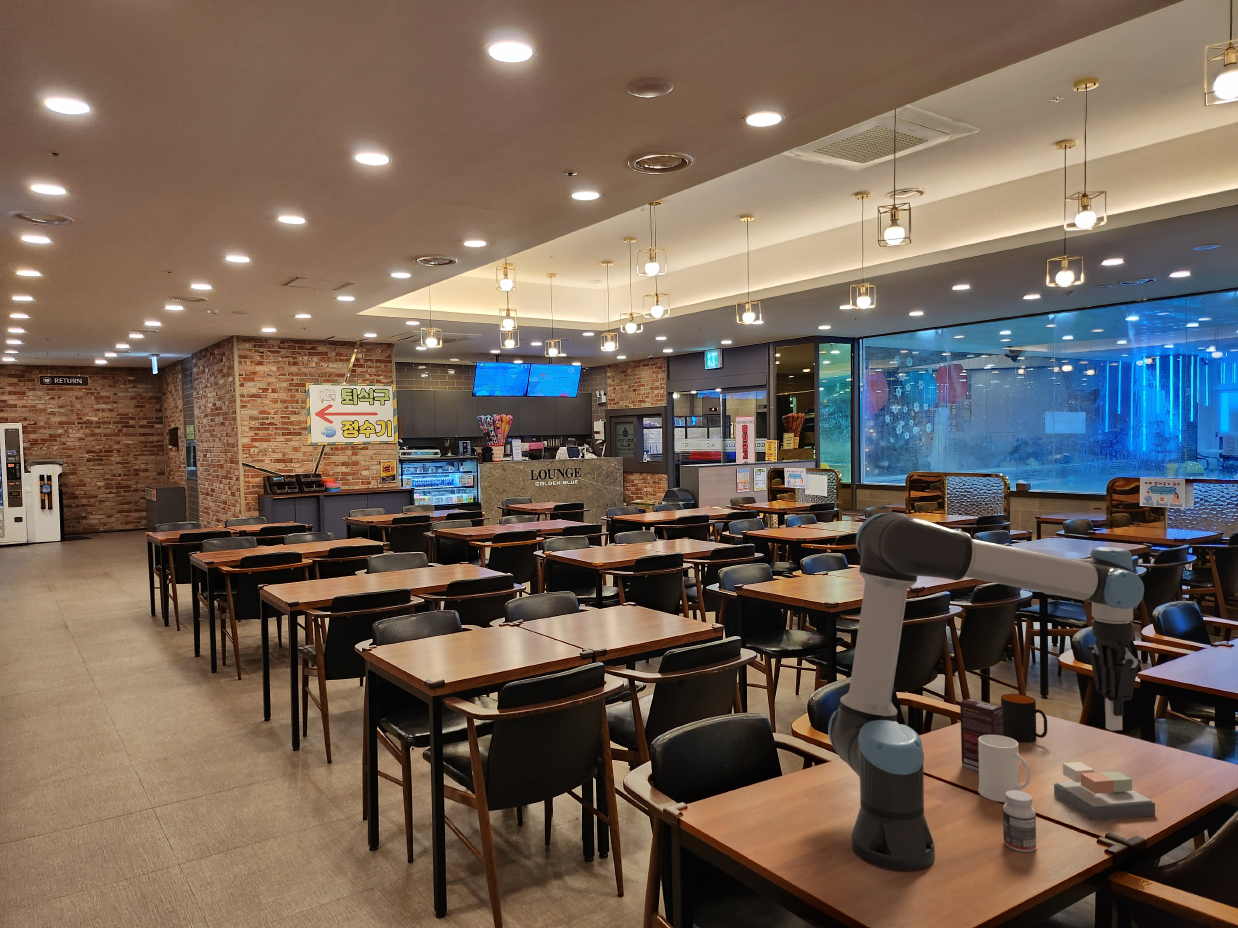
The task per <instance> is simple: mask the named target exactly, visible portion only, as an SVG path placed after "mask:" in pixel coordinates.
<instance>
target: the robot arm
mask: <svg viewBox="0 0 1238 928" xmlns="http://www.w3.org/2000/svg"><path fill="white" fill-rule="evenodd" d="M855 545H856V549H857V552H858V554H859V556H860V563H859V569H858V571H859V572H858V573H859V574H860V576H861V577H862V578H863V580H864V590H863V595H862V603H861V609H860V615H859V621H858V628H857V636H856V642H855V644H856V645H855V649H854V650H855V651H854V656H853V664H852V669H851V670H852V671H851V676H850V682H849V683H850V684H849V690H848V692H847V693H846V694H844V695H842V696H840V698H839V705H838V709H837V710H835V711H834V712H833V713H832V715H831V717H830V719H829V722H828V728H827V729H828V730H827V731H828V732H827V733H828V738H829V741H830V744H831V746H832V748H833V750H834V751H835V753H836V754H837V755H838V757H839V758H840V759H841V760H842V761H843V762H844V763H846V765H848V766H849V767H850V769H851V770H853V772H854V773H855V774H856V775H857V776H858V777H859V794H860V798H859V799H860V808H859V810H858V815H857V817H856V820H855V824H854V826H853V829H852V833H851V847H852V850H853V852H854V854H856V856H858V857H859V858H860V859H861V858H862V859H861V860H863V861H865V862H866V863H868V864H870V865H873V866H875V867H879V868H882V869H886V870H890V871H898V872H899V871H901V872H903V871H904V872H907V871H908V872H909V871H910V872H912V871H919V870H923V869H925V868H927V867H930V866H931V865H932V864H933V863H934V862H935V859H936V858H935V857H936V854H935V853H936V851H935V850H936V847H935V842H934V839H933V836H932V833H931V830H930V828H929V825H928V823H927V819H926V815H925V798H924V797H925V791H924V790H925V789H924V788H925V787H924V786H925V784H924V782H925V781H924V780H925V779H924V777H925V775H924V772H925V770H924V762H925V752H924V749H923V742H922V738H921V737H920V735H919V734H918V733H917V732H916V731H915V730H914V729H913V728H912V727H910V726H908V725H905V724H899V722H897V717H898V709H897V708H896V706H894V704H893V702H892V698H893V691H894V690H893V689H894V683H895V676H896V670H897V665H898V657H899V652H900V651H899V650H900V643H901V637H902V631H903V630H902V629H903V624H904V617H905V610H906V604H907V603H906V602H907V595H908V591H909V589H910V588H911V587H913V586H914V585H915V584H917V581H918V577H929V578H940V579H947V580H952V581H957V582H958V581H959V582H960V581H961V580H963V579H964V578H970V579H974V580H979V581H985V582H990V583H993V584H1000V585H1005V586H1010V587H1015V588H1019V589H1024V590H1030V591H1035V592H1040V593H1043V594H1045V595H1048V596H1050V595H1053V596H1056V597H1057V596H1061V597H1065V598H1070V599H1076V600H1080V601H1085V602H1088V603H1091V617H1093V618H1094V619H1093V620H1091V628H1092V629H1091V631H1092V632H1091V633H1092V636H1093V637H1094V638H1096V639H1095V641H1094V642H1095V643H1094V644H1092V645H1087V646H1086V650H1087V652H1088V655H1089V658H1090V663H1091V668H1092V673H1093V675H1092V676H1093V680H1094V684H1095V689H1096V690H1095V691H1097V692H1100V693H1101V695H1102V697H1103V704H1104V706H1103V708H1104V712H1105V729H1106V730H1109V731H1112V732H1113V731H1123V716H1124V707H1125V706H1124V702H1125V701H1131V700H1132V699H1133V694H1134V691H1135V685H1136V677H1137V673H1138V669H1139V667H1140V666H1141V664H1142V660H1141V659H1140V658H1135V656H1133V654H1132V648H1131V645H1130V643H1131V641H1132V640H1134V630H1135V629H1134V623H1133V619H1134V608H1135V607H1136V606H1138V605H1139V604H1140V603H1141V601H1142V600H1143V598H1144V595H1145V594H1144V593H1145V585H1144V582H1143V581H1142V579H1141V578H1140V577H1139V576H1138V574H1136V573H1134V570H1135V569H1134V565H1133V556H1132V553H1131V551H1130V550H1128V549H1125V548H1121V547H1108V546H1107V547H1105V546H1104V547H1100V546H1099V547H1094V548H1092V549H1091V553H1090V556H1089V557H1087V558H1086V557H1085V558H1066V557H1061V556H1057V555H1052V554H1047V553H1042V552H1037V551H1032V550H1028V549H1027V550H1026V549H1023V548H1017V547H1013V546H1009V545H1008V546H1007V545H1004V544H998V543H993V542H988V541H984V540H983V541H982V540H978V539H974V538H972V537H971V535H970V534H969V533H968V532H965V531H959V530H956V529H952V528H949V527H946V526H942V525H940V524H936V523H934V522H931V521H929V520H925V519H923V518H921V517H916V516H909V515H904V514H899V513H895V512H886V513H884V512H883V513H878V514H877V513H876V514H874V515H872V516H870V517H868V518H867V519H866V520H865V521H863V523H862V524H861V525H860V526H859V529H858V530H857V533H856V537H855Z"/></svg>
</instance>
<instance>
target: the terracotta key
mask: <svg viewBox="0 0 1238 928" xmlns="http://www.w3.org/2000/svg"><path fill="white" fill-rule="evenodd" d="M1081 786H1083V787H1085V788H1087V789H1088V790H1090V791H1092V792H1093V793H1095V794H1098V793H1110V792H1114V780H1112V779H1110V778H1109V777H1107V776H1105V775H1103V774H1101V773H1100V771H1099V772H1095V771H1094V773H1082V774H1081Z"/></svg>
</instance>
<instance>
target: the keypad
mask: <svg viewBox="0 0 1238 928" xmlns="http://www.w3.org/2000/svg"><path fill="white" fill-rule="evenodd" d="M1053 794H1054V797H1056V798H1057V799H1059V800H1060V801H1063V802H1064V803H1065V804H1066V805H1068V806H1070V807H1071V808H1073V809H1074V810H1076V811H1078V812H1079V813H1081V814H1083V816H1086V817H1087V818H1089V819H1090V820H1092V821H1102V820H1103V821H1104V820H1117V819H1127V818H1138V817H1153V816H1156V802H1154V801H1152V799H1150V798H1148V797H1146V796H1144V794H1141V793H1139V792H1138V791H1136V790H1134V789H1132V791H1123V792H1110V793H1098V794H1095V793H1093V792H1092V791H1090V790H1088V789H1087V788H1085V787H1083V786H1081V782H1075V781H1073V780H1072V781H1062V782H1061V781H1060V782H1059V781H1058V782H1056V783H1053Z"/></svg>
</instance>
